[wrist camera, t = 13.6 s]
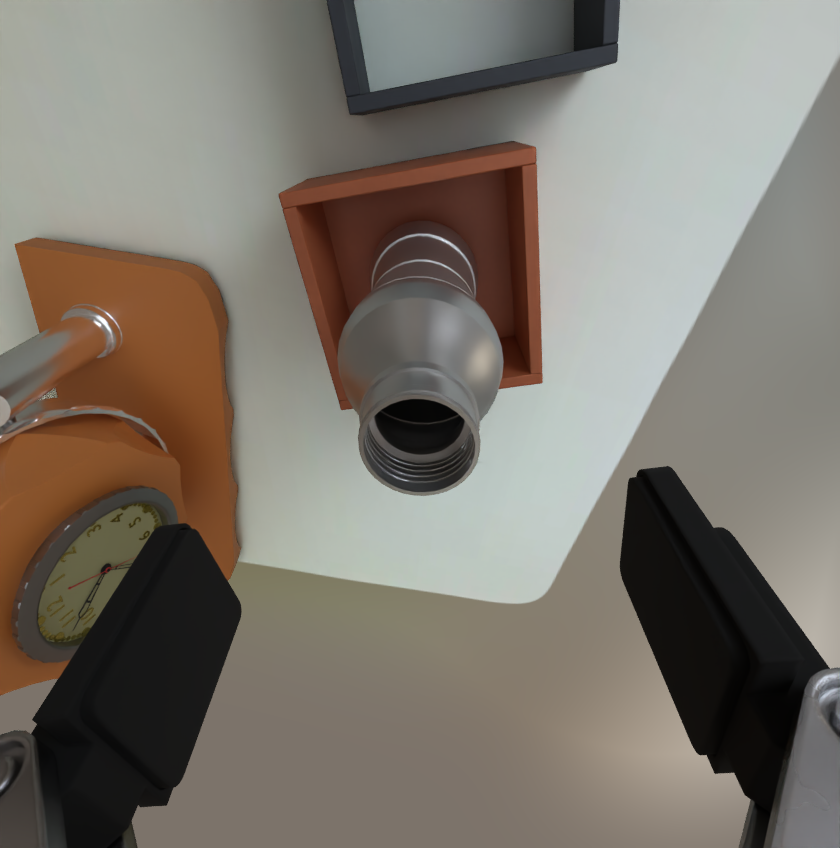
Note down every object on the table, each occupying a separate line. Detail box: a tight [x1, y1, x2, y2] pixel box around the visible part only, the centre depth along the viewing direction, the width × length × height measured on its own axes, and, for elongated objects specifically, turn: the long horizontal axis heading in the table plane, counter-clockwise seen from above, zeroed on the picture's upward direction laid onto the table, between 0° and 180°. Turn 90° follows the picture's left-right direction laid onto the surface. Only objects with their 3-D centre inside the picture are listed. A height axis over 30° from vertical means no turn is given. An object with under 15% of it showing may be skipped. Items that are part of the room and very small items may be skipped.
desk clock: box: [0, 238, 241, 695], centre depth 31 cm, size 12×30×20 cm, turn 171°
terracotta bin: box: [279, 141, 542, 410], centre depth 29 cm, size 12×12×7 cm
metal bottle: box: [337, 221, 504, 496], centre depth 22 cm, size 6×7×20 cm
